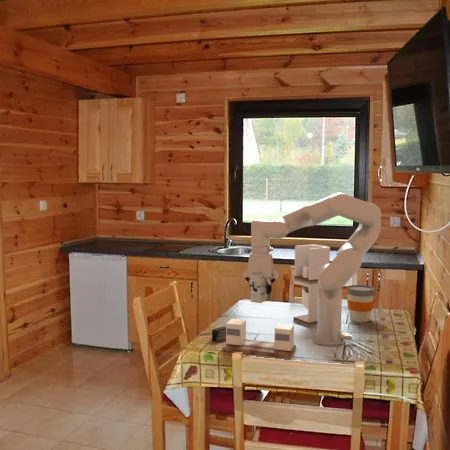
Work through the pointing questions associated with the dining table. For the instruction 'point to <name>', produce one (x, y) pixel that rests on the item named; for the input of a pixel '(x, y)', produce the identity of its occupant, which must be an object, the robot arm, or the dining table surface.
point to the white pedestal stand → (309, 278)
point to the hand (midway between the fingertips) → (260, 293)
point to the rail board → (260, 349)
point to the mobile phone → (219, 333)
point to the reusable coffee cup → (360, 302)
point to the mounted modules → (281, 338)
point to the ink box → (258, 288)
